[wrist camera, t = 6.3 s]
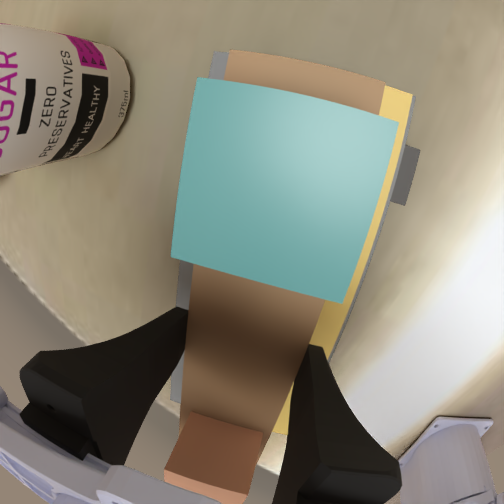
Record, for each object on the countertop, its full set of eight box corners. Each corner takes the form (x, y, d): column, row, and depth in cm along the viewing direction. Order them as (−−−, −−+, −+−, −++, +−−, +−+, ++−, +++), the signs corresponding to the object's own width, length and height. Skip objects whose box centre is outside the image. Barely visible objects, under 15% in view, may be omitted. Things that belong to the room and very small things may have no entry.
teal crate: (335, 242, 10) (342, 303, 7) (219, 211, 11) (170, 257, 7) (367, 124, 9) (399, 122, 5) (242, 95, 9) (197, 77, 6)
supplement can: (47, 72, 18) (-118, 82, 4) (128, 27, 16) (-66, -22, 2) (61, 166, 21) (-110, 226, 7) (146, 135, 19) (-79, 182, 5)
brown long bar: (264, 420, 22) (251, 474, 17) (200, 402, 22) (178, 452, 18) (363, 97, 13) (385, 82, 8) (258, 73, 13) (230, 49, 9)
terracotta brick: (249, 464, 16) (234, 516, 13) (187, 445, 17) (165, 495, 13) (263, 432, 15) (248, 495, 11) (191, 411, 15) (164, 469, 12)
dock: (307, 410, 24) (304, 438, 22) (183, 376, 26) (169, 400, 23) (416, 107, 15) (434, 103, 12) (229, 62, 16) (213, 50, 13)
